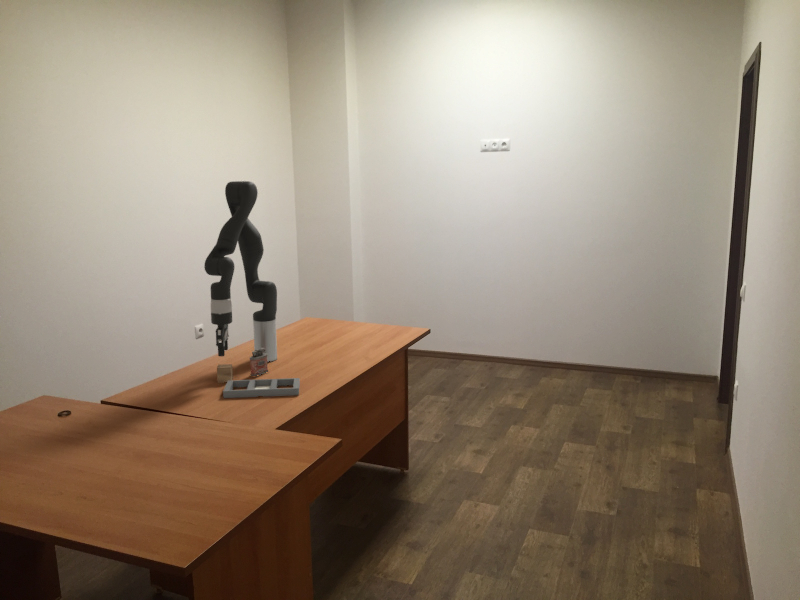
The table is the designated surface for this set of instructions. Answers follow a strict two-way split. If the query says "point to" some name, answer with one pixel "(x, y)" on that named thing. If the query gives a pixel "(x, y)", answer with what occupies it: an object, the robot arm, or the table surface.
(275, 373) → the table surface
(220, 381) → the wooden block
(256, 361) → the lighter
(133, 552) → the table surface
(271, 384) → the grey compartment tray
